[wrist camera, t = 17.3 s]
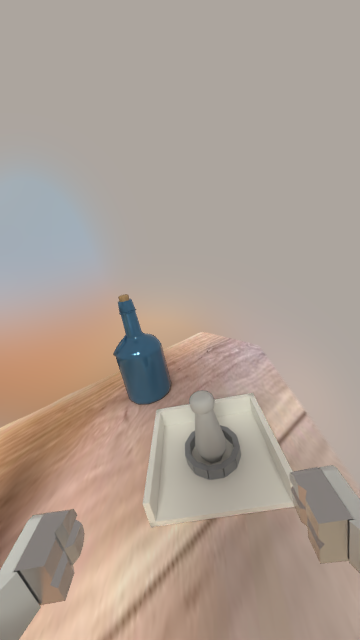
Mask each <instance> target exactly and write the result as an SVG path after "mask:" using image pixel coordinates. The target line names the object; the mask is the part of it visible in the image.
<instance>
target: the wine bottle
mask: <svg viewBox="0 0 360 640" xmlns="http://www.w3.org/2000/svg"><path fill="white" fill-rule="evenodd" d="M118 306H119V312H120V313H119V314H120V315H121V317H122V321H123V325H124V328H125V333H126V335H125V336H124V338H123V339H122V340H121V342H120V343H119V345H118V346H117V348H116V350H115V352H114V354H113V355H114V356H116V359H117V363H118V365H119V369H120V372H121V375H122V378H123V381H124V384H125V387H126V390H127V393H128V396H129V399H130V400H131V401H132V402H134V403H136V404H150V403H153V402H155V401H158V400H160V399H162V398H163V397H164V396H165V395H166V394H167V393H168V392H169V389H170V387H171V380H170V376H169V372H168V368H167V364H166V360H165V356H164V352H163V348H162V345H161V343H160V341H159V340H158V339H157V338H156V337H155V336H154V335H151V334H145V333H143V332H142V331H141V328H140V325H139V321H138V318H137V316H136V312H135V310H136V309H135V307H134V305H133V302H132V300H131V299H129V296H128V295H127V294H125V295H121V296H119V302H118Z"/></svg>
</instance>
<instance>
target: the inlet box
mask: <svg viewBox="0 0 360 640" xmlns="http://www.w3.org/2000/svg"><path fill="white" fill-rule="evenodd" d="M214 402H215V403H214V408H213V410H214V413H215V415H216V417H217V420H218V422H219V424H220V427H221V429H222V431H223V434H224V436H225V438H226V441H227V444H226V450H225V452H224V454H223V456H222V459H221V461H218V462H215V463H212V464H211V463H209V462H207V461H205V460H204V459H203V458H202V457H201V456H200V455H199V454H198V452H197V450H196V447H195V413H194V412H193V411H192V410H191V407H190V404H186V405H181V406H175V407H169V408H164V409H158V410H157V411H156V417H155V424H154V431H153V437H152V444H151V451H150V458H149V464H148V471H147V478H146V485H145V491H144V498H143V506H144V509H145V512H146V515H147V517H148V520H149V523H150V526H151V527H156V526H163V525H170V524H177V523H184V522H191V521H198V520H205V519H212V518H219V517H226V516H233V515H241V514H248V513H255V512H262V511H269V510H276V509H283V508H290V507H295V506H294V503H293V499H292V495H291V488H292V486H293V485H292V483H291V481H290V476H289V474H290V472H293V471H292V469H291V467H290V465H289V463H288V461H287V459H286V457H285V455H284V453H283V451H282V449H281V447H280V446H279V444H278V442H277V440H276V438H275V436H274V434H273V432H272V430H271V428H270V426H269V424H268V422H267V420H266V418H265V416H264V414H263V412H262V410H261V408H260V406H259V404H258V402H257V400H256V398H255V396H254V394H253V393H249V394H244V395H238V396H232V397H227V398H221V399H215V400H214Z"/></svg>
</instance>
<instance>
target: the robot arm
mask: <svg viewBox="0 0 360 640" xmlns="http://www.w3.org/2000/svg"><path fill="white" fill-rule="evenodd" d="M289 476H290V481H291V483H292V485H293V486H292V488H291V495H292V499H293V503H294V506H295V508H296V511H297V513H298V516H299V518H300V520H301V522H302V523H304V524H305V525H306V526H307V528H308V538H309V540H310V542H311V544H312V546H313V549H314V551H315V553H316V555H317V557H318V559H319V561H320V564H323V563H332V562H341V561H349V563H350V564H351V565H352V566H353V567H354V568H355V569H356V570H357V571H358V572H359V573H360V499H359V498H358V496H357V495H356V494H355V492H354V491H353V490H352V488H351V487H350V486H349V484H348V483H347V482H346V480H345V479H344V477H343V476H342V475H341V473H340V472H339V471H338V469H337V468H336V467H334V466H333V465H329V466H324V467H319V468H317V467H316V468H310V469H305V470H300V471H294V472H290V474H289ZM76 517H77V514H76V512H75V510H74V509H71V510H64V511H57V512H51V513H43V514H37V515H33V516H32V517H31V518H30V519H29V520H28V522H27V523H26V525H25V527H24V529H23V530H22V532H21V534H20V536H19V538H18V539H17V541H16V543H15V545H14V546H13V548H12V550H11V552H10V554H9V555H8V557H7V559H6V561H5V562H4V564H3V566H2V568H1V570H0V640H19V639H20V637H21V636H22V634H23V633H24V631H25V630H26V628H27V627H28V625H29V624H30V622H31V621H32V619H33V618H34V616H35V615H36V613H37V612H38V610H39V609H40V607H41V606H40V605H44V604H50V603H55V602H61V601H65V600H66V597H67V594H68V591H69V588H70V585H71V581H72V578H73V575H74V568H73V564H74V563H75V561H76V560H77V559H78V558H79V556H80V554H81V550H82V547H83V542H84V529H83V526H82V524H81V523H80V522H79V521H77V520H75V519H76Z"/></svg>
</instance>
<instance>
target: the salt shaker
mask: <svg viewBox="0 0 360 640" xmlns="http://www.w3.org/2000/svg"><path fill="white" fill-rule="evenodd" d="M214 403H215V402H214V398H213V396H212V394H211V393H209V392H208V391H197V392H195V393H193V394H192V395H191V397H190V399H189V404H190V407H191V410H192V411H193V412H194V413H195V447H196V450H197V452H198V454H199V455H200V456H201V457H202V458H203V459H204V460H205V461H207V462H209V463H211V464H212V463H215V462H218V461H221V459H222V456H223V454H224V452H225V450H226V444H227V441H226V438H225V436H224V434H223V431H222V429H221V427H220V424H219V422H218V420H217V417H216V415H215V413H214V410H213V408H214Z"/></svg>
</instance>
